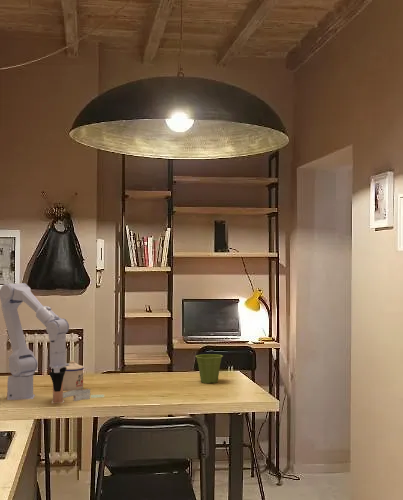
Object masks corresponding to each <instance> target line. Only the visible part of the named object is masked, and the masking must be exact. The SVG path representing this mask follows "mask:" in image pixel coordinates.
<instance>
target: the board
mask: <svg viewBox="0 0 403 500" xmlns="http://www.w3.org/2000/svg"><path fill="white" fill-rule="evenodd" d="M95 398H96V399H97V398H99V399H100V398H105V394H90V399H95ZM63 403H65V399H63V402H59V403H58V404H63ZM51 404H55V403H54V402H53V400H51Z"/></svg>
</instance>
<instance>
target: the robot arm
mask: <svg viewBox="0 0 403 500" xmlns="http://www.w3.org/2000/svg"><path fill="white" fill-rule="evenodd" d="M31 290H32V289H31V287H30V286H29V285H28V283H25V282H21V283H19V282H18V283H4V284H3V285H2V286H1V288H0V302H1V310H2V311H1V312H2V316H3V319H4V323H5V327H6V330H7V335H8V338H9V342H10V347H11V351H12V352H11V354H10V355H9V356H8V370H9V372H10V374H11V375H8V377H7V383H6V384H7V388H6V389H7V401H9V400H10V401H14V400H17V401H18V400H33V399H34V398H35V396H36V394H34V375H35V373H36V371H37V369H38V366H39V362H38V360H37V358H36V356H35V355H34V352H33V351H32V350H31V349H29V347H28V346H27V342H26V338H25V334H24V331H23V326H22V323H21V320H20V315H19V311H18V308H19V306H21V305H22V303H23V302H24V304H26V305H27V306H28V307H29V308H31V309H32V310H33V311H34V312H35V317H36V319H38V320H39V321H40V322H41V324H43V326H44V327H45V329H46V330H45V331H46V333H47V334H48V340H49V368H50V370H51V371H49V372H48V374H49V377H50V379H51V381H52V382H51V383H52V389H53V388H54V391H55V392H57V391H60V390H61V386H62V382H63V377H64V374H65V371H66V369H67V367H66V366H69V363H70V362H69V363H67V350H66V349H67V346H66V345H67V344H66V343H67V338H66V337H67V335H66V334H67V333H68V332H69V330H70V324H69V322H68V321H67V319H66V318H61V317H60V316H59V315H58V314H56V313H55V312H54V311H53V310H52V307H50V306H48V305H43V304H42V303H41V302H40V301H39V299H38V297H36V296H35V295H34V293H33V292H32V291H31Z"/></svg>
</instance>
